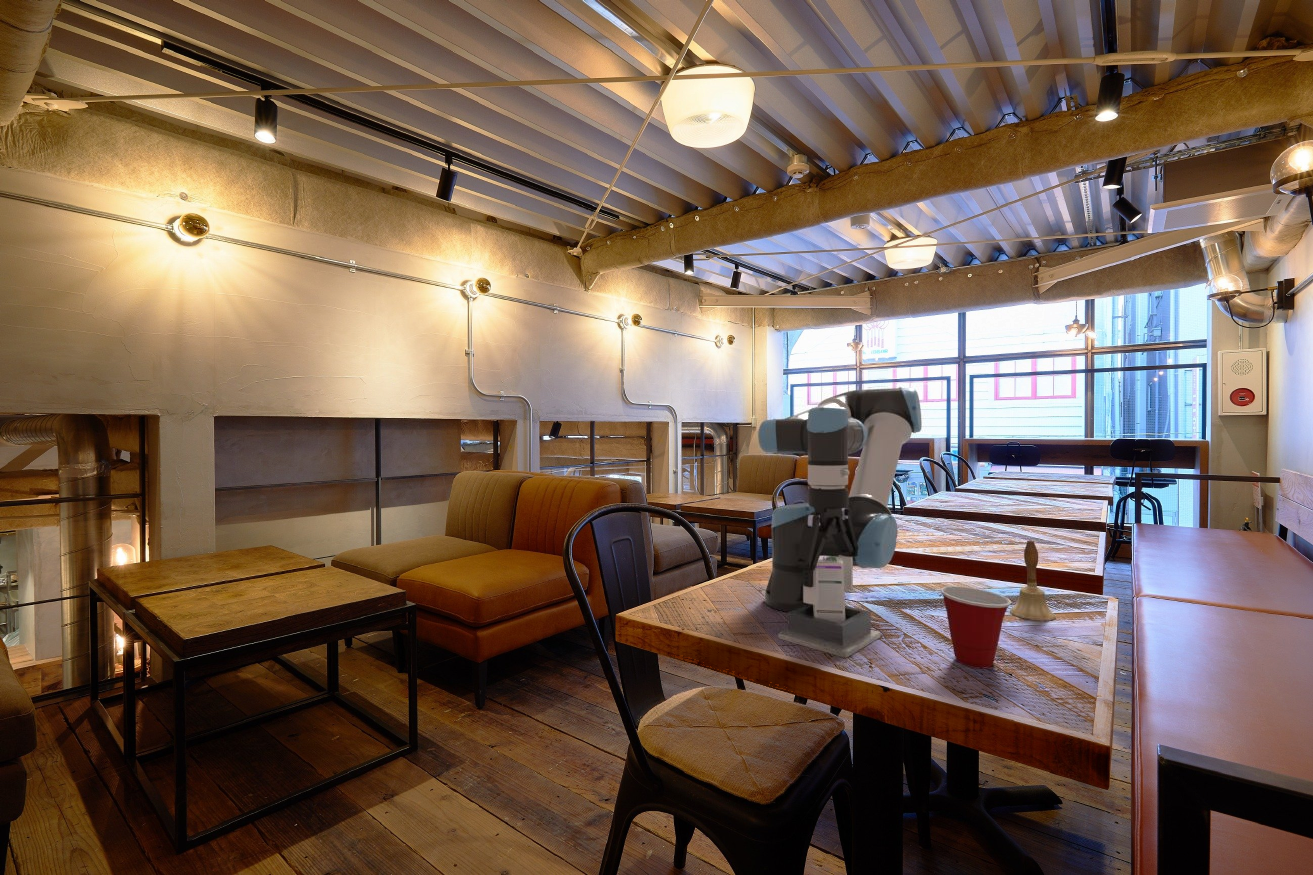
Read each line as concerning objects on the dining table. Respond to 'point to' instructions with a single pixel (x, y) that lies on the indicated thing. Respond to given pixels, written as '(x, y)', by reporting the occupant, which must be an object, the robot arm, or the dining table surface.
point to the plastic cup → (974, 623)
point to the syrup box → (830, 589)
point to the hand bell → (1032, 591)
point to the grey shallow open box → (830, 631)
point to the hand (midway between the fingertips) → (829, 595)
